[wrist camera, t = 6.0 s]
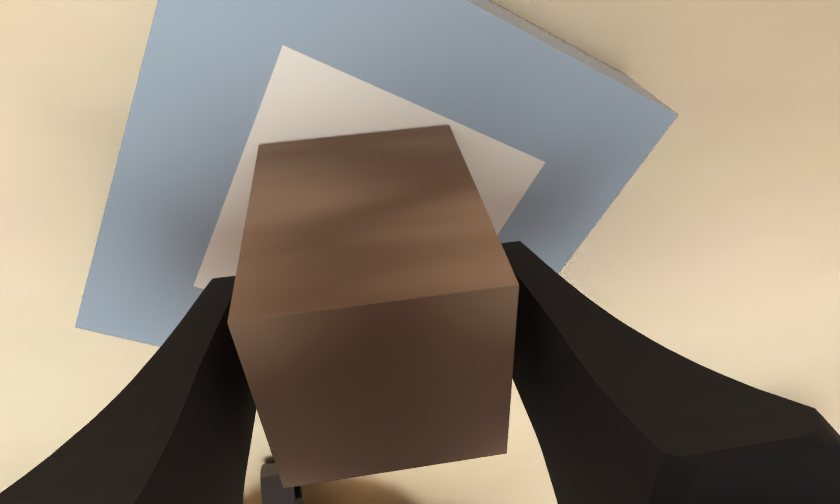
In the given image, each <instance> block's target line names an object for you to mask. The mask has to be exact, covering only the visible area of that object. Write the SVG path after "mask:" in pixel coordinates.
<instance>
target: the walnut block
mask: <svg viewBox="0 0 840 504" xmlns="http://www.w3.org/2000/svg"><path fill="white" fill-rule="evenodd" d="M518 293H519V283H518V281H517V279H516V277H515V274H514V272H513V270H512V267H511V265H510V263H509V261H508V258H507V256H506V254H505V251H504V249H503V247H502V244H501V242H500V240H499V238H498V235H497V233H496V231H495V228H494V226H493V224H492V222H491V219H490V217H489V215H488V212H487V210H486V208H485V206H484V203H483V201H482V199H481V196H480V194H479V192H478V190H477V187H476V185H475V183H474V180H473V178H472V176H471V174H470V171H469V169H468V167H467V164H466V162H465V160H464V158H463V155H462V153H461V151H460V148H459V146H458V144H457V142H456V139H455V137H454V135H453V132H452V130H451V128H450V126H449V125H445V126H436V127H427V128H417V129H408V130H398V131H389V132H379V133H370V134H360V135H351V136H341V137H332V138H322V139H313V140H303V141H294V142H284V143H275V144H265V145H259V146H258V152H257V158H256V163H255V169H254V175H253V180H252V186H251V192H250V197H249V203H248V209H247V214H246V220H245V226H244V231H243V237H242V243H241V248H240V254H239V260H238V265H237V271H236V277H235V282H234V288H233V294H232V299H231V305H230V311H229V316H228V322H227V323H228V326H229V329H230V332H231V335H232V338H233V341H234V344H235V347H236V350H237V353H238V356H239V359H240V361H241V364H242V367H243V370H244V373H245V376H246V379H247V382H248V385H249V388H250V391H251V394H252V397H253V400H254V403H255V406H256V408H257V411H258V414H259V417H260V420H261V423H262V426H263V429H264V432H265V435H266V438H267V441H268V444H269V447H270V450H271V453H272V455H273V458H274V461H275V464H276V467H277V470H278V473H279V476H280V479H281V482H282V485H283V488H288V487H295V486H301V485H307V484H314V483H320V482H327V481H333V480H339V479H346V478H352V477H359V476H365V475H371V474H378V473H384V472H391V471H397V470H403V469H410V468H416V467H423V466H429V465H435V464H442V463H448V462H455V461H461V460H467V459H474V458H480V457H487V456H493V455H499V454H506V453H507V441H508V428H509V414H510V401H511V387H512V374H513V360H514V347H515V333H516V320H517V306H518Z"/></svg>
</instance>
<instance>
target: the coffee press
mask: <svg viewBox="0 0 840 504" xmlns="http://www.w3.org/2000/svg"><path fill="white" fill-rule="evenodd" d="M261 492H262V502H263V504H304V500H303V494H302V488H301V486H295V487H288V488H283V485H282V482H281V479H280V476H279V473H278V470H277V467H276V464H275V462H273V463H268V464H263V465H262V468H261Z"/></svg>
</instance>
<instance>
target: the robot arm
mask: <svg viewBox="0 0 840 504" xmlns="http://www.w3.org/2000/svg"><path fill="white" fill-rule="evenodd" d="M501 244H502V247H503V249H504V251H505V254H506V256H507V258H508V261H509V263H510V265H511V267H512V270H513V272H514V274H515V277H516V279H517V281H518V283H519V293H518V306H517V320H516V333H515V347H514V360H513V374H512V378H513V381H514V383H515V385H516V388H517V390H518V393H519V395H520V397H521V400H522V402H523V404H524V407H525V409H526V412H527V414H528V416H529V419H530V421H531V423H532V426H533V428H534V431H535V433H536V436H537V438H538V441H539V444H540V447H541V449H542V452H543V456H544V459H545V462H546V465H547V469H548V472H549V475H550V479H551V482H552V485H553V489H554V492H555V496H556V499H557V503H558V504H840V435H839V434H838V433H837V432H836V431H835V430H834V428H833V427H832V426H831V425H830V424H829V423H828V422H827V421H826V420H825V419H824V417H823V416H822V415H821V414H820V413H819V412H818V411H817V410H816V409H815V408H812V407H809V406H806V405H803V404H800V403H797V402H795V401H792V400H789V399H786V398H783V397H780V396H777V395H774V394H771V393H768V392H765V391H762V390H759V389H757V388H754V387H751V386H749V385H746V384H744V383H741V382H739V381H737V380H734V379H732V378H729V377H727V376H724V375H722V374H719V373H717V372H715V371H713V370H710V369H708V368H706V367H704V366H701V365H699V364H697V363H695V362H693V361H691V360H689V359H687V358H685V357H683V356H681V355H679V354H677V353H675V352H673V351H671V350H669V349H667V348H665V347H663V346H662V345H660V344H658V343H656V342H654V341H653V340H651V339H649V338H647V337H646V336H644V335H642V334H641V333H639V332H637V331H636V330H634V329H632V328H631V327H629V326H627V325H626V324H624V323H623V322H621V321H620V320H618V319H617V318H615V317H614V316H612V315H611V314H609V313H608V312H607V311H605V310H604V309H602V308H601V307H599V306H598V305H597V304H595V303H594V302H592V301H591V300H590V299H589V298H587V297H586V296H585V295H583V294H582V293H581V292H579V291H578V290H577V289H576V288H574V287H573V286H572V285H571V284H569V283H568V282H567V281H566V280H565V279H563V278H562V277H561V276H560V275H559V274H557V273H556V272H555V271H554V270H553V269H552V268H551V267H549V266H548V265H547V264H546V263H545V262H544V261H543V260H541V259H540V258H539V257H538V256H537V255H536V254H535V253H533V252H532V251H531V250H530V249H529V248H528V247H527V246H525V245H524V244H523V243H522V242H521V241H514V242H506V243H501ZM235 277H236V276H228V277H220V278H212V280H211V281H210V282H209V283H208V285H207V286H206V287H205V289H204V290H203V291H202V293H201V294H200V295H199V297H198V298H197V299H196V301H195V302H194V304H193V305H192V306H191V308H190V309H189V310H188V312H187V313H186V314H185V316H184V317H183V319H182V320H181V321H180V323H179V324H178V325H177V326H176V328H175V329H174V330H173V332H172V333H171V334H170V335H169V337H168V338H167V339H166V341H165V342H164V343H163V344H162V346H161V347H160V348H159V349H158V351H157V352H156V353H155V354H154V355H153V357H152V358H151V359H150V360H149V361H148V362H147V363H146V365H145V366H144V367H143V368H142V369H141V370H140V372H139V373H138V374H137V375H136V376H135V377H134V378H133V380H132V381H131V382H130V383H129V384H128V385H127V386H126V387H125V388H124V389H123V390H122V391H121V392H120V393H119V394H118V395H117V396H116V397H115V398H114V399H113V400H112V401H111V402H110V403H109V404H108V405H107V406H106V407H105V408H104V409H103V410H102V411H101V412H100V413H99V414H98V415H97V416H96V417H95V418H93V419H92V420H91V421H90V422H89V423H88V424H87V425H86V426H84V427H83V428H82V429H81V430H80V431H79V432H77V433H76V434H75V435H74V436H73V437H71V438H70V439H69V440H68V441H67V442H66V443H64V444H63V445H62V446H61V447H60V448H59V449H57V450H56V451H55V452H54V453H53V454H52V455H50V456H49V457H48V458H47V459H45V460H44V461H43V462H41V463H40V464H39V465H38V466H36V467H35V468H34V469H32V470H31V471H30V472H28V473H27V474H26V475H25V476H23V477H22V478H20V479H19V480H18V481H16V482H15V483H14V484H12V485H11V486H9V487H8V488H7V489H5V490H4V491H3V492H1V493H0V504H242V503H243V492H244V483H245V475H246V469H247V463H248V457H249V451H250V445H251V439H252V432H253V426H254V420H255V414H256V406H255V403H254V400H253V397H252V394H251V391H250V388H249V385H248V382H247V379H246V376H245V373H244V370H243V367H242V364H241V361H240V359H239V356H238V353H237V350H236V347H235V344H234V341H233V338H232V335H231V332H230V329H229V326H228V323H227V322H228V316H229V311H230V305H231V299H232V294H233V288H234V282H235Z"/></svg>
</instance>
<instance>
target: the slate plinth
mask: <svg viewBox="0 0 840 504" xmlns="http://www.w3.org/2000/svg"><path fill="white" fill-rule="evenodd" d="M677 116H678V114H676V113H675V112H674V111H672V110H671V109H670V108H669V107H667V106H666V105H665V104H663V103H662V102H661V101H659V100H658V99H657V98H655V97H654V96H653V95H651V94H650V93H649V92H648V91H646V90H645V89H644V88H642V87H641V86H640V85H638V84H637V83H636V82H634V81H633V80H632V79H631V78H629V77H628V76H626V75H624V74H623V73H621V72H619V71H617V70H615V69H614V68H612V67H610V66H608V65H606V64H604V63H603V62H601V61H599V60H597V59H595V58H594V57H592V56H590V55H588V54H586V53H584V52H583V51H581V50H579V49H577V48H575V47H574V46H572V45H570V44H568V43H566V42H564V41H563V40H561V39H559V38H557V37H555V36H554V35H552V34H550V33H548V32H546V31H544V30H543V29H541V28H539V27H537V26H535V25H534V24H532V23H530V22H528V21H526V20H524V19H523V18H521V17H519V16H517V15H515V14H514V13H512V12H510V11H508V10H506V9H504V8H503V7H501V6H499V5H497V4H495V3H494V2H492V1H490V0H158V3H157V7H156V10H155V14H154V18H153V22H152V26H151V30H150V34H149V38H148V42H147V46H146V50H145V54H144V58H143V62H142V66H141V70H140V73H139V77H138V81H137V85H136V89H135V93H134V97H133V101H132V105H131V109H130V113H129V117H128V121H127V125H126V129H125V133H124V136H123V140H122V144H121V148H120V152H119V156H118V160H117V164H116V168H115V172H114V176H113V180H112V184H111V188H110V192H109V196H108V199H107V203H106V207H105V211H104V215H103V219H102V223H101V227H100V231H99V235H98V239H97V243H96V247H95V251H94V255H93V259H92V262H91V266H90V270H89V274H88V278H87V282H86V286H85V290H84V294H83V298H82V302H81V306H80V310H79V314H78V318H77V321H76V325H75V327H76V328H80V329H84V330H89V331H93V332H97V333H102V334H106V335H110V336H115V337H119V338H124V339H128V340H132V341H137V342H141V343H145V344H150V345H154V346H158V347H161V346H162V344H163V343H164V342H165V341H166V339H167V338H168V337H169V335H170V334H171V333H172V332H173V330H174V329H175V328H176V326H177V325H178V324H179V323H180V321H181V320H182V319H183V317H184V316H185V314H186V313H187V312H188V310H189V309H190V308H191V306H192V305H193V304H194V302H195V301H196V299H197V298H198V297H199V295H200V294H201V293H202V291H203V290H204V289H205V287H206V286H207V285H208V283H209V282H210V281H211V280H212V278H220V277H228V276H236V271H237V265H238V260H239V254H240V248H241V243H242V237H243V231H244V226H245V220H246V214H247V209H248V203H249V197H250V192H251V186H252V180H253V175H254V169H255V163H256V158H257V152H258V146H259V145H265V144H275V143H284V142H294V141H303V140H313V139H322V138H332V137H341V136H351V135H360V134H370V133H379V132H389V131H398V130H408V129H417V128H427V127H436V126H445V125H449V126H450V128H451V130H452V132H453V135H454V137H455V139H456V142H457V144H458V146H459V148H460V151H461V153H462V155H463V158H464V160H465V162H466V164H467V167H468V169H469V171H470V174H471V176H472V178H473V180H474V183H475V185H476V187H477V190H478V192H479V194H480V196H481V199H482V201H483V203H484V206H485V208H486V210H487V212H488V215H489V217H490V219H491V222H492V224H493V226H494V228H495V231H496V233H497V235H498V238H499V240H500V242H501V243H506V242H514V241H521V242H522V243H523V244H524V245H525V246H527V247H528V248H529V249H530V250H531V251H532V252H533V253H535V254H536V255H537V256H538V257H539V258H540V259H541V260H543V261H544V262H545V263H546V264H547V265H548V266H549V267H551V268H552V269H553V270H554V271H555V272H556V273H557V274H558V273H559V272H560V271H561V269H562V268H563V267H564V265H565V264H566V263H567V261H568V260H569V259H570V258H571V256H572V255H573V254H574V252H575V251H576V250H577V248H578V247H579V246H580V244H581V243H582V242H583V240H584V239H585V238H586V236H587V235H588V234H589V232H590V231H591V230H592V228H593V227H594V226H595V224H596V223H597V222H598V220H599V219H600V218H601V216H602V215H603V214H604V213H605V211H606V210H607V209H608V207H609V206H610V205H611V203H612V202H613V201H614V199H615V198H616V197H617V195H618V194H619V193H620V191H621V190H622V189H623V187H624V186H625V185H626V183H627V182H628V181H629V179H630V178H631V177H632V175H633V174H634V173H635V172H636V170H637V169H638V168H639V166H640V165H641V164H642V162H643V161H644V160H645V158H646V157H647V156H648V154H649V153H650V152H651V150H652V149H653V148H654V146H655V145H656V144H657V142H658V141H659V140H660V138H661V137H662V136H663V134H664V133H665V132H666V131H667V129H668V128H669V127H670V125H671V124H672V123H673V121H674V120H675V119H676V117H677Z"/></svg>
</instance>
